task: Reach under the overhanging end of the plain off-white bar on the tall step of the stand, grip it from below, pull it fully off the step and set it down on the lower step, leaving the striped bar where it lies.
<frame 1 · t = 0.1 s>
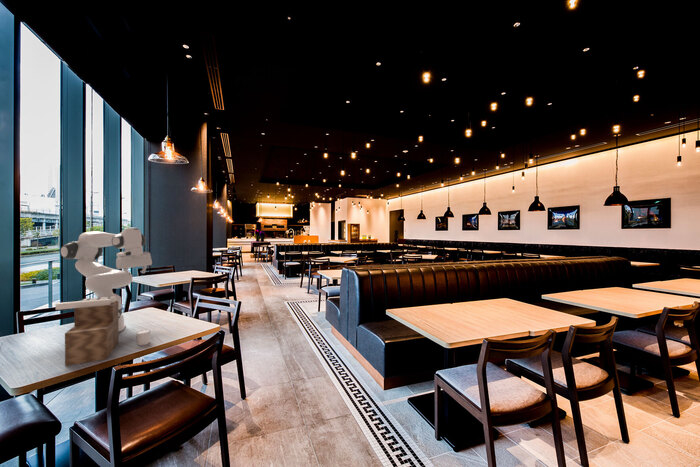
hand: (135, 274, 179), 39 cm above the table, tool pointing down, fingers open, 8 cm apart
white rounded cube: (143, 343, 167), on the table
plain bar: (84, 306, 154), point 25 cm above the table, touching two-step stand
two-step stand: (94, 353, 154), on the table
striped bar: (99, 303, 161), point 25 cm above the table, touching two-step stand
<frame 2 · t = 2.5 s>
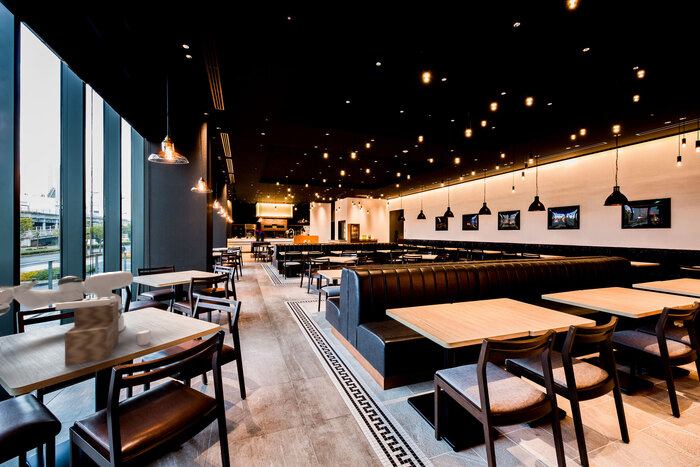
hand: (32, 283, 153), 38 cm above the table, tool pointing upward, fingers open, 8 cm apart
nothing on the table moved.
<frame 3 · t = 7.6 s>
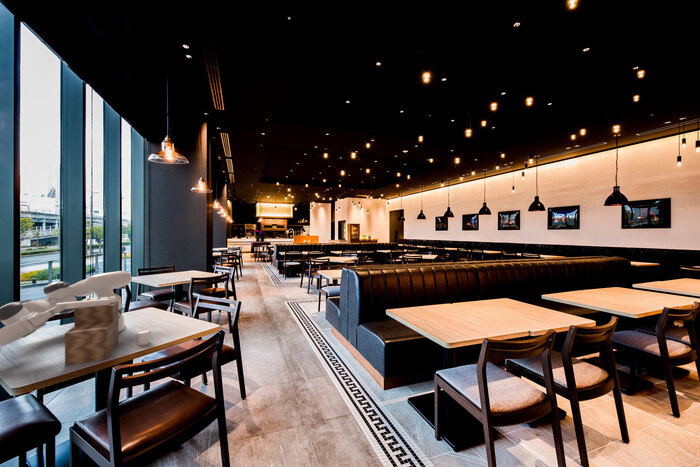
hand: (66, 304, 151), 27 cm above the table, tool pointing upward, fingers closed on plain bar, 3 cm apart
plain bar: (84, 306, 154), point 25 cm above the table, touching gripper, two-step stand
everything else where it was.
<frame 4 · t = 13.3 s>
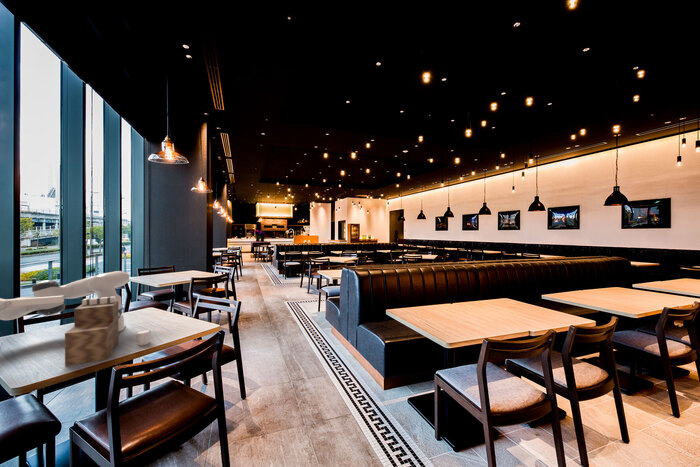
hand: (12, 301, 138), 32 cm above the table, tool pointing upward, fingers closed on plain bar, 3 cm apart
plain bar: (33, 304, 141), point 30 cm above the table, touching gripper
everything else where it was.
when the fingers open (20 cm above the table, at t = 18.8 s): plain bar drops 2 cm, resting on two-step stand.
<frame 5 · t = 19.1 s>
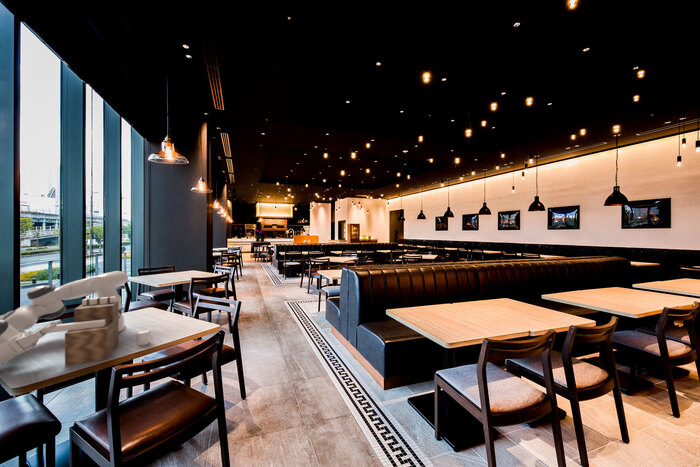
hand: (58, 323, 142), 20 cm above the table, tool pointing upward, fingers open, 5 cm apart
plain bar: (77, 328, 146), point 16 cm above the table, touching two-step stand
everything else where it was.
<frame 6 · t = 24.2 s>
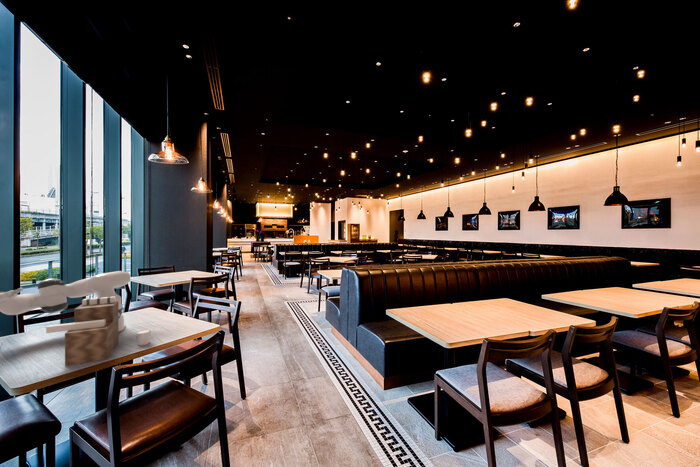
hand: (16, 290, 141), 36 cm above the table, tool pointing upward, fingers open, 8 cm apart
nothing on the table moved.
at the end: plain bar inside the target area on the two-step stand (0.4 cm from its centre), point 16.0 cm above the two-step stand's base; the gripper is holding nothing; striped bar moved 0.0 cm from its start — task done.
